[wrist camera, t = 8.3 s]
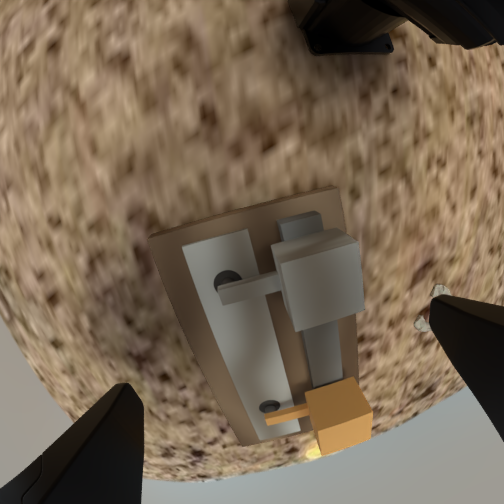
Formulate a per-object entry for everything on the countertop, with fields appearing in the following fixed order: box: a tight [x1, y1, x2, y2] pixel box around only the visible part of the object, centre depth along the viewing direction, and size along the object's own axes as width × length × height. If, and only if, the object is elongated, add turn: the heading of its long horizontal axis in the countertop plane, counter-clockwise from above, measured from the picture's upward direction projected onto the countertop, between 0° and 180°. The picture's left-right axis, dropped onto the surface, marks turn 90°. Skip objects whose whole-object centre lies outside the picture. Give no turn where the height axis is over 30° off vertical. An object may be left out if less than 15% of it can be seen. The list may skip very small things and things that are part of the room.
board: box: [147, 186, 365, 447], centre depth 19 cm, size 12×22×5 cm, turn 14°
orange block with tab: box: [264, 376, 373, 456], centre depth 19 cm, size 8×4×5 cm, turn 104°
